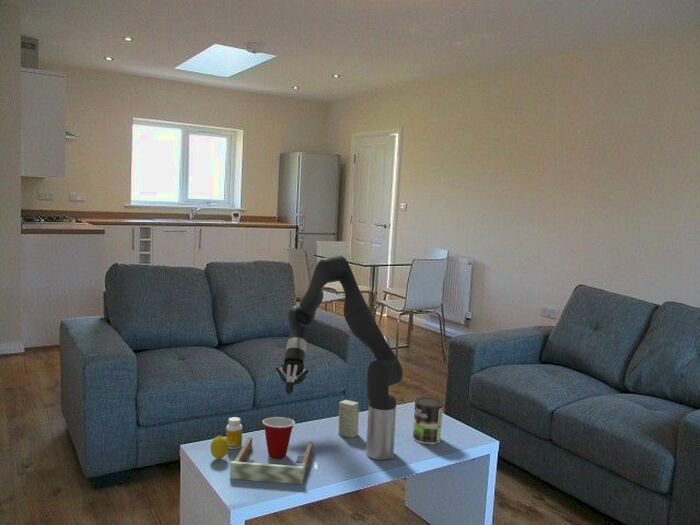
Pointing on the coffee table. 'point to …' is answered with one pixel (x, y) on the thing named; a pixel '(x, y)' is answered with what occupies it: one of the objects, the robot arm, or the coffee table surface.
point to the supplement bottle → (234, 433)
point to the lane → (268, 468)
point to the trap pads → (299, 460)
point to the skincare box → (348, 418)
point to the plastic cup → (278, 435)
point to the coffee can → (427, 420)
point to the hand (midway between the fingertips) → (289, 393)
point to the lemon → (219, 447)
